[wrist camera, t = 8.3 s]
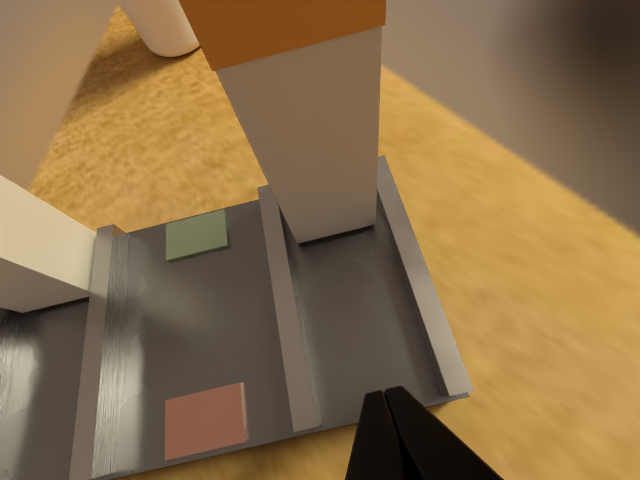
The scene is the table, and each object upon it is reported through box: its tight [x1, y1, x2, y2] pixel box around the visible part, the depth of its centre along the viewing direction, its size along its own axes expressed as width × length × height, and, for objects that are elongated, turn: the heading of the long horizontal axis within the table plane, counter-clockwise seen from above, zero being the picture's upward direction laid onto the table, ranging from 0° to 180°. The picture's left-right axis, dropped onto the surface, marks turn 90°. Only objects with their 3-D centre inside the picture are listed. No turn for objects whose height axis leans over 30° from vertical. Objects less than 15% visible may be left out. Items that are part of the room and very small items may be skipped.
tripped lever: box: [178, 0, 386, 244], centre depth 10 cm, size 3×4×12 cm
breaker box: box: [0, 155, 474, 480], centre depth 15 cm, size 10×19×3 cm, turn 102°
